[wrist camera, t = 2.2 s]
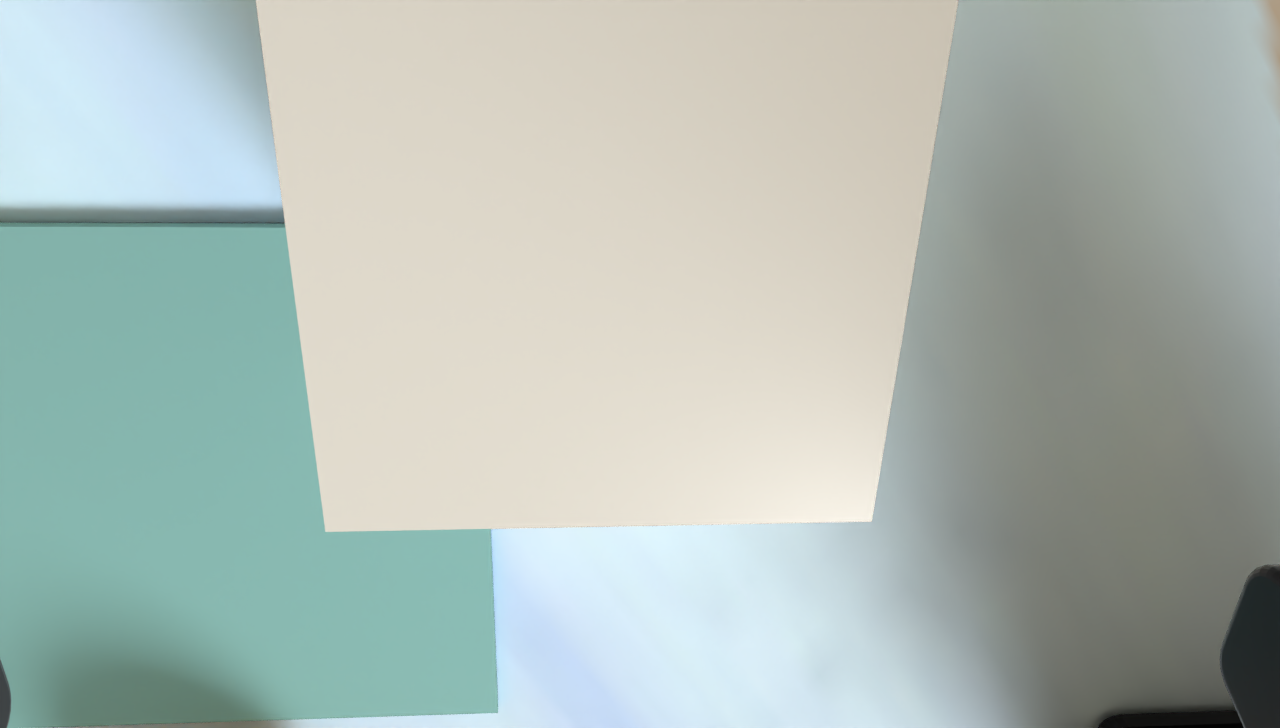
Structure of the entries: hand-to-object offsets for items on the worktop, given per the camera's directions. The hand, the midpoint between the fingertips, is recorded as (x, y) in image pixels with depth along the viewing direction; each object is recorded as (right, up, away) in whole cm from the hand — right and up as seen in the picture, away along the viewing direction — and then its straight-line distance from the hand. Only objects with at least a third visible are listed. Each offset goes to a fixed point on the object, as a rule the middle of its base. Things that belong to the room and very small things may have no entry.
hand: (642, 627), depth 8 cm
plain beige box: (-1, +6, +11) cm, 13 cm away
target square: (-9, -1, +14) cm, 17 cm away
